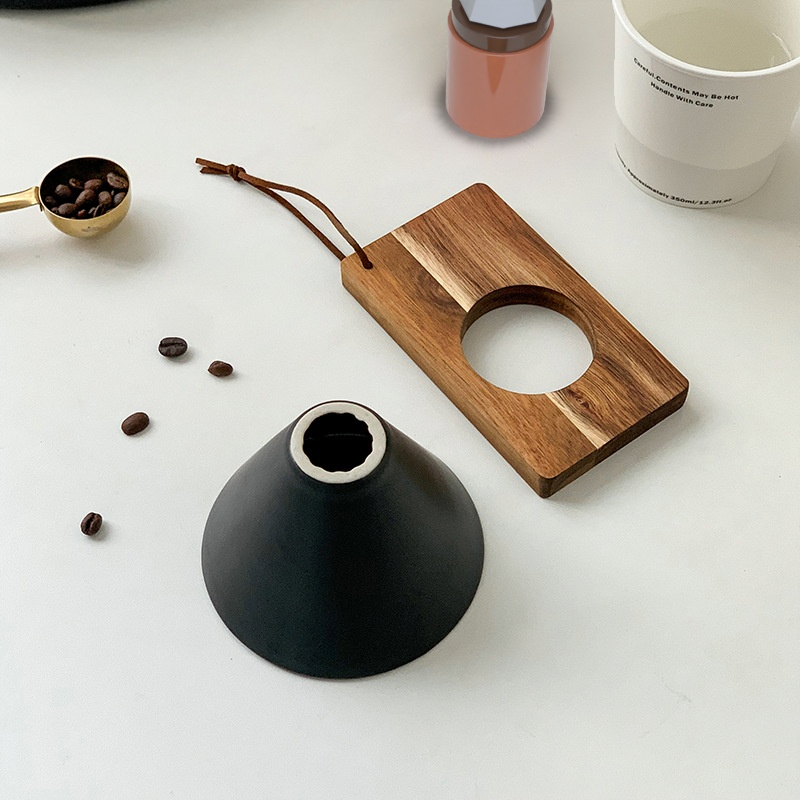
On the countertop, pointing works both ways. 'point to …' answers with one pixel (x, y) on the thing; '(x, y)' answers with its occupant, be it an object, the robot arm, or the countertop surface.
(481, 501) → the countertop surface
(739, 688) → the countertop surface
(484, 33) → the jar
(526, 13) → the flask
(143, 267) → the countertop surface
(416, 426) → the countertop surface
